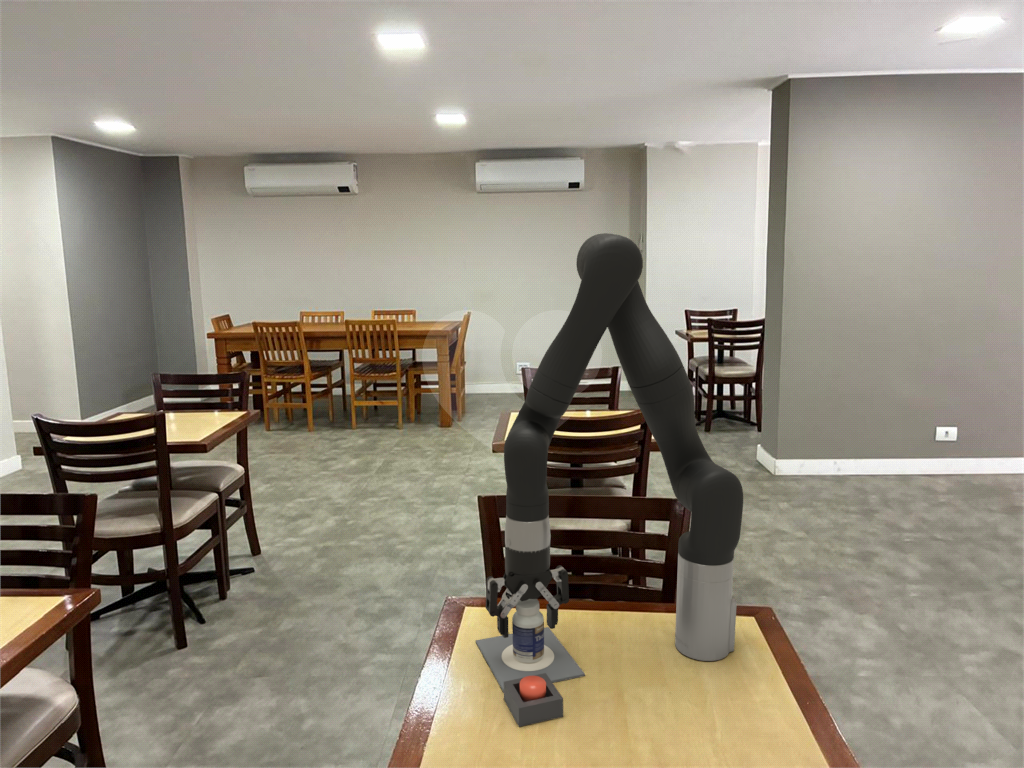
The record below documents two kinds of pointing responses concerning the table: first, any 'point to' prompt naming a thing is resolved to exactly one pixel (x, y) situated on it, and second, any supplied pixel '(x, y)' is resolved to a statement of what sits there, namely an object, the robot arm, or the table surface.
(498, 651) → the grey mat
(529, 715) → the button housing
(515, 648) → the pill bottle
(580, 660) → the table surface
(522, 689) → the button
